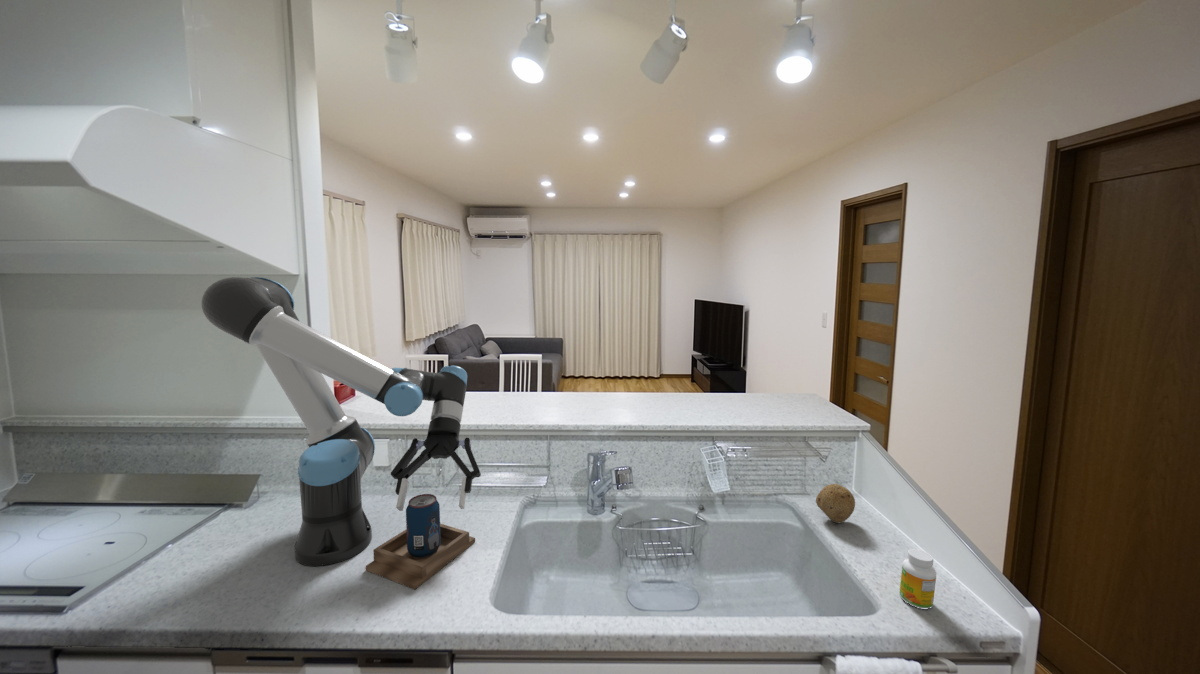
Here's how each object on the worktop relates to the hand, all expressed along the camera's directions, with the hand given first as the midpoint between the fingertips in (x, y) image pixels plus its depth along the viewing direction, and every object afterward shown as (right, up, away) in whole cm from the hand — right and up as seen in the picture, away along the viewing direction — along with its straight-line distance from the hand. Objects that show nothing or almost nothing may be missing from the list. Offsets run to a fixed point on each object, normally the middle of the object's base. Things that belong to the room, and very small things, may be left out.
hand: (430, 508), depth 99 cm
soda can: (-1, -9, -1) cm, 9 cm away
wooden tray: (-1, -10, -1) cm, 10 cm away
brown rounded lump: (+100, -10, +16) cm, 102 cm away
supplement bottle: (+101, -13, -13) cm, 102 cm away
